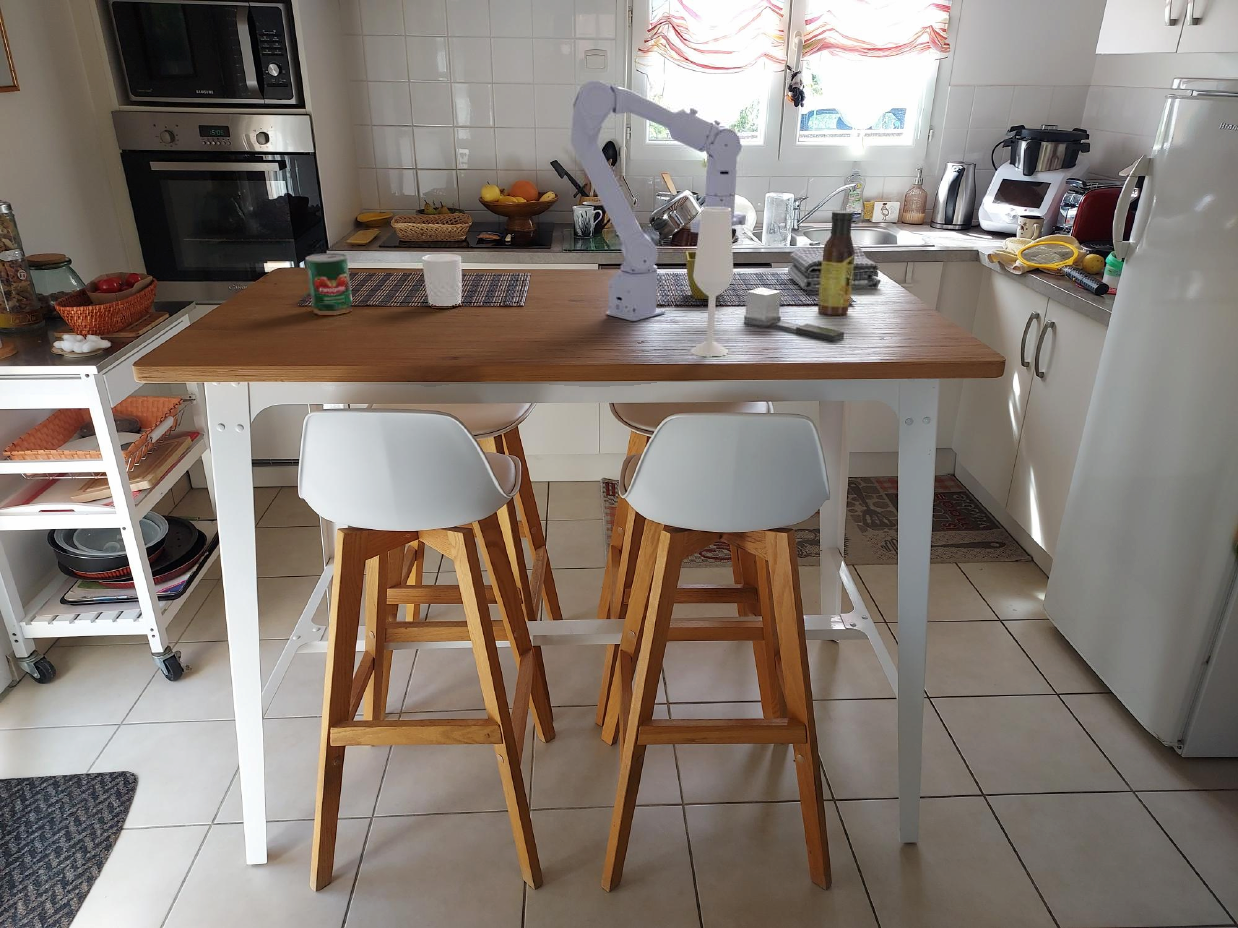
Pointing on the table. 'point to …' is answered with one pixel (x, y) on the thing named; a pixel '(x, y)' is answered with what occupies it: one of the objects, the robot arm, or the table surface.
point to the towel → (810, 264)
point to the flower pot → (694, 288)
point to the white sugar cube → (763, 304)
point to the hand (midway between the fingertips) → (716, 265)
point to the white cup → (443, 279)
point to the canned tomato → (329, 281)
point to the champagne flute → (713, 267)
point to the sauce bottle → (837, 266)
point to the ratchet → (797, 329)
